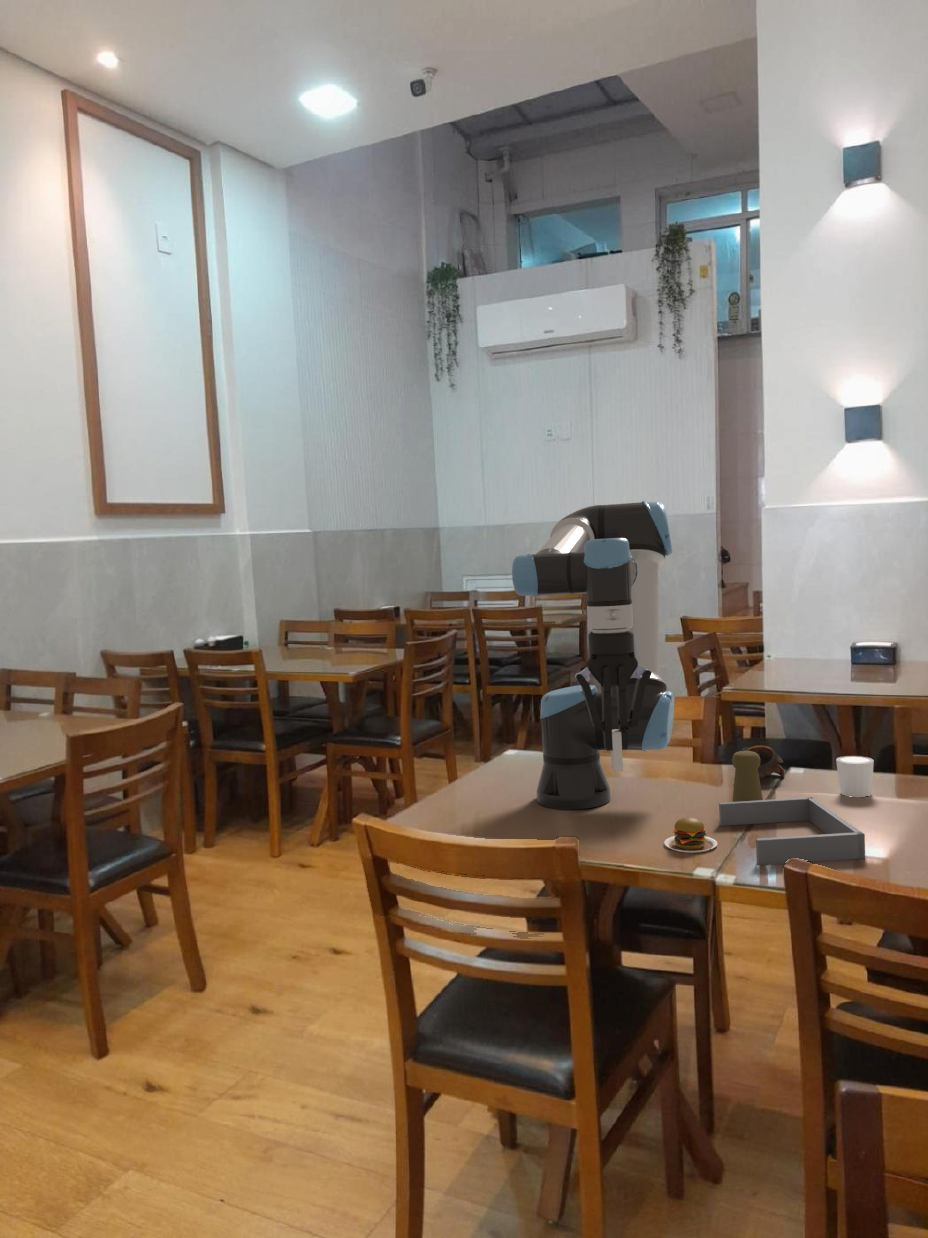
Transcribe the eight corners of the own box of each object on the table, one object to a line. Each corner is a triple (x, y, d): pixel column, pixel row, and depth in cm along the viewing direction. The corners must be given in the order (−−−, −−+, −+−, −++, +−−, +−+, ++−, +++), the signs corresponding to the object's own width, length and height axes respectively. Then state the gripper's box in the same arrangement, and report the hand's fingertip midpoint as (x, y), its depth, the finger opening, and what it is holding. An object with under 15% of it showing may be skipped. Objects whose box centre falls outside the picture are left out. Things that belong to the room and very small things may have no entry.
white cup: (876, 799, 179) (875, 763, 179) (838, 798, 181) (837, 763, 181) (873, 790, 186) (872, 755, 185) (836, 789, 188) (835, 755, 187)
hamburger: (726, 838, 163) (725, 808, 163) (727, 861, 152) (726, 829, 151) (657, 837, 166) (655, 807, 166) (653, 859, 155) (651, 827, 154)
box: (719, 824, 169) (718, 802, 169) (812, 818, 170) (811, 797, 169) (758, 865, 148) (757, 840, 147) (865, 858, 148) (864, 834, 147)
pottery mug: (798, 781, 197) (789, 752, 193) (764, 806, 195) (755, 777, 191) (758, 757, 208) (750, 729, 204) (726, 780, 205) (717, 753, 202)
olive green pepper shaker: (766, 812, 175) (764, 755, 174) (732, 812, 176) (730, 755, 175) (762, 803, 181) (760, 748, 180) (730, 803, 182) (728, 748, 181)
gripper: (574, 634, 152) (581, 776, 153) (654, 629, 152) (660, 771, 153) (569, 630, 159) (575, 766, 161) (644, 626, 159) (650, 761, 161)
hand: (617, 768), depth 157 cm, fingers closed
